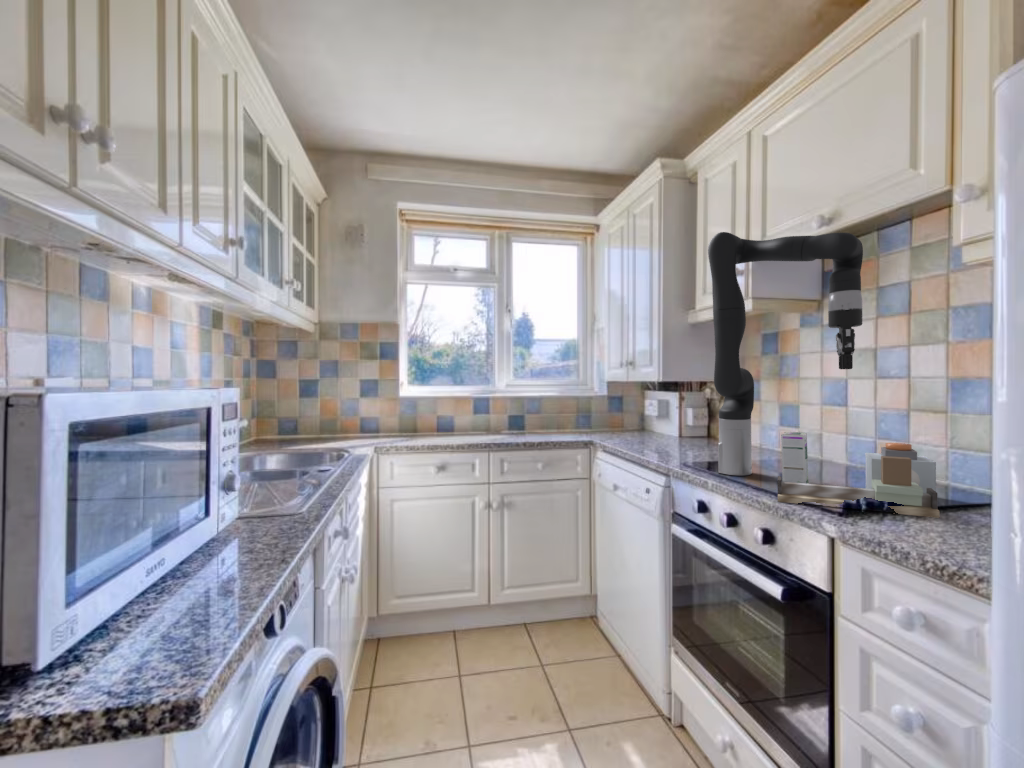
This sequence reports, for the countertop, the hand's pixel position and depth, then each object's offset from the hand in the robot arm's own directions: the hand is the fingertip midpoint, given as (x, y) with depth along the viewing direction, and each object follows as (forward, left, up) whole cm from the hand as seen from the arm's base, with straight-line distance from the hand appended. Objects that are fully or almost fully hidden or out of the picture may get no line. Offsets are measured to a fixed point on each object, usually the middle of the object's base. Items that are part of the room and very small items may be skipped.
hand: (845, 369), depth 128 cm
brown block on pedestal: (+7, -20, -30) cm, 37 cm away
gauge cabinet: (+10, -7, -32) cm, 34 cm away
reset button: (+10, -7, -22) cm, 25 cm away
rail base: (-1, -20, -32) cm, 38 cm away
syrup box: (-12, -2, -32) cm, 35 cm away
